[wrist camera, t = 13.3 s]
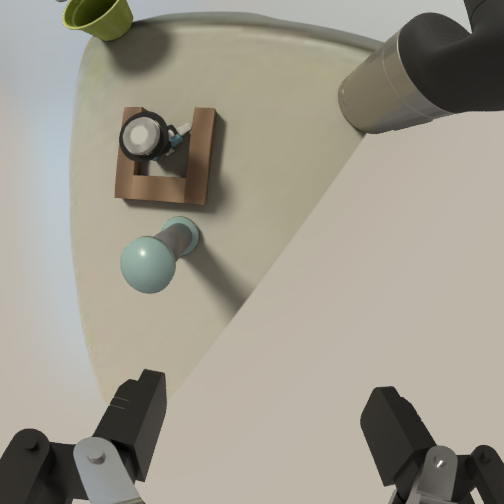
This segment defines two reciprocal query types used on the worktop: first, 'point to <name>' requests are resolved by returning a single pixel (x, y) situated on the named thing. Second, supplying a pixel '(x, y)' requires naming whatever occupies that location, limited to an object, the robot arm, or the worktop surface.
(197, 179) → the notched board
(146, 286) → the spool
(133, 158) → the push button
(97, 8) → the plant pot
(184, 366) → the worktop surface
